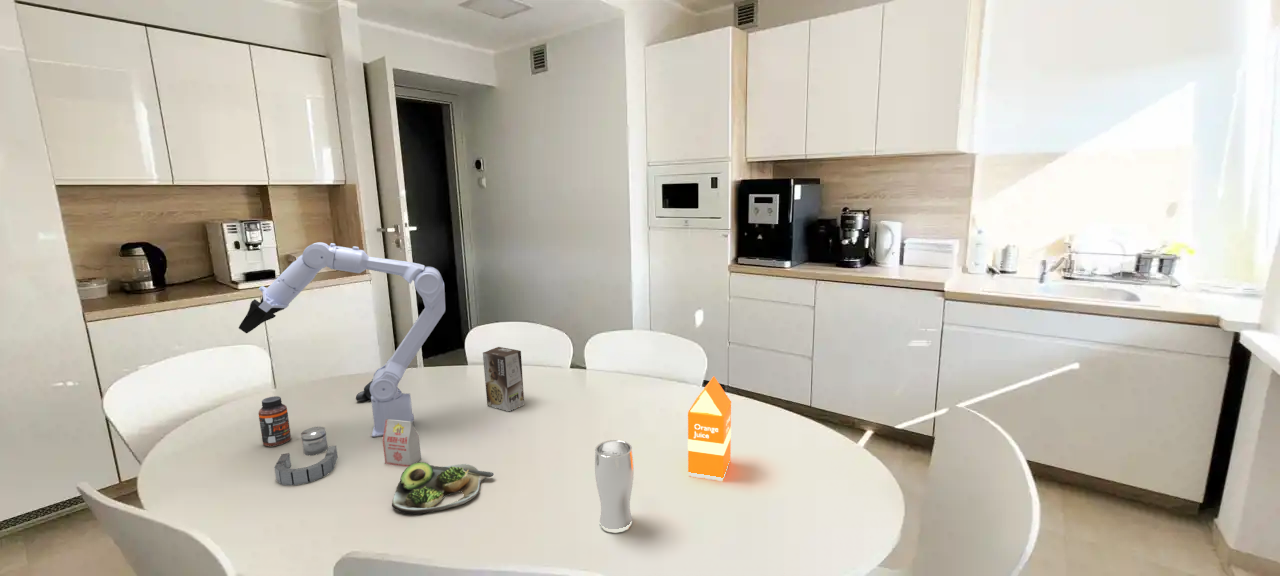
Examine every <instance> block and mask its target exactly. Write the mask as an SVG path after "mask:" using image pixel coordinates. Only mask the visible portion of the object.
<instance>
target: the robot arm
mask: <svg viewBox="0 0 1280 576" xmlns="http://www.w3.org/2000/svg"><path fill="white" fill-rule="evenodd" d="M326 267H327V268H329V269H331V270H335V271H341V272H348V273H353V274H354V273H355V274H361V273H363V272H364V271H366V270H368V271H369V270H370V271H374V272H379V273H385V274H388V275H389V274H391V275H396V276H400V277H402V279H404V280H405V281H406V282H407V283H408V284H410V285H411V284H412V282H414V289H415V290H416V292H417V294H418V295H419V296H420V297H421V298H422V301H423V305H424V309H422V311H421V313H420V314H419V316H418V317H417V319H416V320H415V322H414V323H413V325H412V326H411V328H410V329H409V330H408V332H407V334H406V335H405V337H404V338H403V340H402V341H401V342H400V343H399V345H398V346H397V348H396V350H395V351H394V352H393V354H392V355H391V356H390V358H389V359H388V360H387V361H386V362H385V364H384V365H382V366H381V367H380V368H378V369H376V371H375V372H374V373H373V377H372V379H373V381H372V380H371V381H372V383H371V385H370V394H371V395H372V396H371V399H370V401H371V409H372V419H373V428H372V429H373V430H372V433H371V437H373V438H375V437H381V436H382V437H383V434H384V429H385V420H387V419H391V420H401V421H411V422H412V423H413V424H414V420H415V417H414V413H413V405H412V404H413V403H412V397H411V393H409V392H408V393H405V392H404V393H403V392H402V390H400V388H399V383H400V382H401V380H402V378H403V376H404V374H405V373H406V370H407V369H408V367H409V365H410V364H411V363H412V361H413V360H414V358H415V357H416V355H417V353H418V352H419V351H420V349H421V348H422V346H423V345H424V343H425V342H426V341H427V339H428V337H430V335H431V333H432V332H433V331H434V329H435V327H436V326H437V324H438V323H439V321H440V320H441V319H442V317H443V315H444V314H445V313H446V292H445V282H444V280H443V277H442V274H441V273H440V271H439V269H437V268H435V267H433V266H425V265H424V264H421V263H418V262H417V263H416V262H412V261H404V260H399V259H398V260H397V259H390V258H383V257H382V258H381V257H376V256H375V257H374V256H369V254H367V253H366V251H365V250H364V249H360V247H359V246H355V245H354V246H352V248H351V247H345V246H341V245H336V243H334V242H333V243H332V242H331V243H330V244H329V245H328V243H326V242H321V241H319V242H318V241H317V242H314V243H311V244H310V245H308V246H306V247H305V248H304V250H303V252H302V254H300V255H299V256H298V257H297V258H296V260H294V261H292V262H291V263H290V264H289V265H288V266H287V268H286V269H284V270H283V272H282V273H280V274H279V276H277V277H276V278H275V280H274V281H272V283H270V285H268V287H265V286H264V285H261V286H259V288H258V290H259V292H261V293H262V295H261V300H260V301H258V300H257V299H253V300H251V302H250V305H249V308H248V311H247V313H246V314H245V317H244V319H242V321H241V322H240V324H239V326H238V329H239V330H240V331H242V332H244V333H245V334H249V333H250V332H252V331H253V330H254V329H256V328H257V327H258V326H260V325H262V324H263V323H265V322H267V321H268V320H269V321H270V320H272V319H274V318H275V317H276V316H277V315H276V313H278V312H281V311H284V310H285V309H286V308H288V307H289V305H290V304H291V303H292V301H293V300H295V299H296V297H297V296H298V295H299V294H300V293H301V292H302V291H303V290H304V289H305V288H306V287H307V286H308V285H309V284H310V283H311V282H312V281H313V280H314V279H315V278H316V275H317V274H318V273H319V272H321V270H322V269H324V268H326Z"/></svg>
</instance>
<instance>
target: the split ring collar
mask: <svg viewBox="0 0 1280 576" xmlns="http://www.w3.org/2000/svg"><path fill="white" fill-rule="evenodd" d="M338 458H339V457H338V448H337V445H331V446H329V445H328V449H327V450H326V453H325V456H324V458H323V459H321V460H319V462H316V463H314V464H311V465H308V466H305V467H300V468H291V466H292V462H291V461H292V460H291V455H290V452H286V453H281V454H280V456H279V459H278V460H277V462H276V464H275V465H274V473H275V474H274V475H275V479H276V480H277V482H278V484H280V485H282V486H291V485H293V486H299V485H298V484H300V485H303V483H306V484H309V483H312V481H313V482H315V481H318V480H320V479H323V478H324V477H323V476H325V477H326V476H328V475H329V474H330V473H332V472H333V471H335V466H336V464H337V461H338ZM328 473H329V474H328ZM327 474H328V475H327ZM322 477H323V478H322ZM319 478H320V479H319ZM317 479H318V480H317ZM276 480H275V481H276ZM314 480H315V481H314Z"/></svg>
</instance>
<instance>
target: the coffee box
mask: <svg viewBox="0 0 1280 576" xmlns="http://www.w3.org/2000/svg"><path fill="white" fill-rule="evenodd" d="M482 361H483V369H484V371H483V372H484V382H485V393H486V405H489V406H492V407H491V408H493V407H496V408H495V409H497V408H499V409H498V410H500V409H503V410H502V411H504V410H506V412H508V411H510V412H512V411H514V410H516V409H518V408H517V407H519V406H521V407H522V405H523V404H524V405H525V392H524V379H523V365H522V362H523V361H522V351H521V350H520V349H519V350H518V349H513V348H508V347H507V348H506V347H502V346H497V347H495V348H494V347H493V348H492V349H488V350H487V351H484V352H482ZM524 405H523V406H524ZM489 406H488V407H489ZM519 408H520V407H519ZM513 409H514V410H513ZM511 410H512V411H511Z"/></svg>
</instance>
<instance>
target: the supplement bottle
mask: <svg viewBox="0 0 1280 576" xmlns="http://www.w3.org/2000/svg"><path fill="white" fill-rule="evenodd" d="M258 420H259V426H260V432H261V441H262V445H264V446H265V447H276V446H281V445H283V444H286V443H287V442H289V441H290V440H291V436H292V435H291V428H290V420H289V413H288V408H287V405H286V404H283V403H282V397H281V396H279V395H277V396H276V395H275V396H269V397H265V398H263V399H262V400H261V408H260V409H259V410H258Z"/></svg>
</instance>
